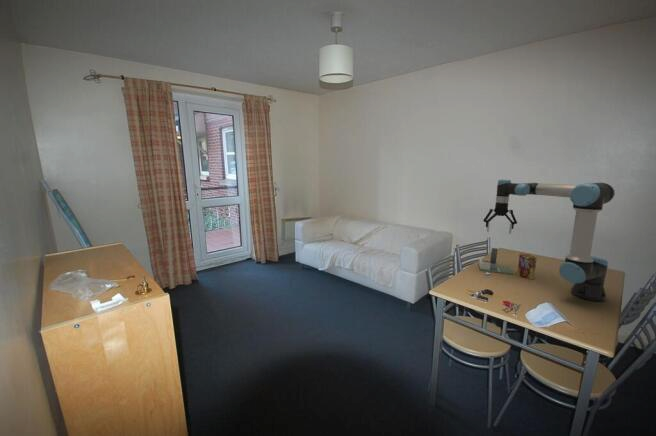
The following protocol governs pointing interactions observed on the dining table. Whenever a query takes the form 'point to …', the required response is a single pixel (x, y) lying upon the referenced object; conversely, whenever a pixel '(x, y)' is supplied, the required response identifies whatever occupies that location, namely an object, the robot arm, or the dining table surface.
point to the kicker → (493, 259)
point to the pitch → (499, 269)
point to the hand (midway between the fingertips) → (498, 232)
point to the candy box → (526, 265)
